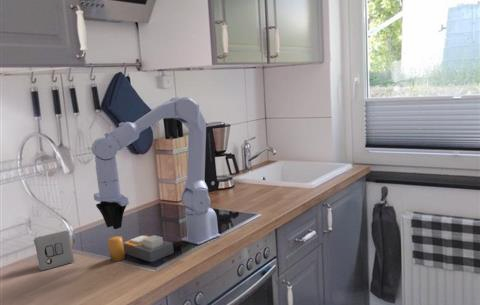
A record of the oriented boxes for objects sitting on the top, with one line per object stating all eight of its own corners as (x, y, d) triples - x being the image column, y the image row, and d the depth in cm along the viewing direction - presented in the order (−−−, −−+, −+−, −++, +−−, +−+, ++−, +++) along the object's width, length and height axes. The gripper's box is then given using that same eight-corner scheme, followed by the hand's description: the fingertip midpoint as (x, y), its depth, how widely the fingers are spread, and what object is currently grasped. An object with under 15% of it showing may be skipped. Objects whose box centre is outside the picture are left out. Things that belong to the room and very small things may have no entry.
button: (155, 244, 134) (154, 235, 133) (163, 247, 131) (162, 237, 130) (144, 249, 131) (142, 239, 130) (152, 251, 128) (151, 241, 127)
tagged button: (142, 245, 138) (141, 235, 138) (150, 247, 135) (149, 237, 135) (131, 249, 135) (130, 239, 135) (139, 251, 132) (138, 241, 132)
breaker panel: (144, 244, 141) (143, 234, 140) (173, 252, 131) (172, 242, 131) (122, 252, 135) (121, 242, 134) (151, 262, 126) (150, 251, 125)
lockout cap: (119, 255, 133) (116, 235, 132) (128, 257, 131) (125, 237, 130) (108, 260, 130) (104, 240, 129) (116, 262, 128) (113, 242, 127)
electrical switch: (40, 272, 125) (34, 239, 125) (36, 268, 130) (31, 236, 129) (75, 262, 130) (70, 231, 130) (70, 259, 135) (65, 228, 134)
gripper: (81, 181, 129) (88, 227, 131) (110, 185, 119) (116, 235, 121) (103, 176, 134) (109, 220, 136) (132, 180, 124) (138, 227, 126)
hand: (114, 227), depth 129 cm, fingers open, 3 cm apart
